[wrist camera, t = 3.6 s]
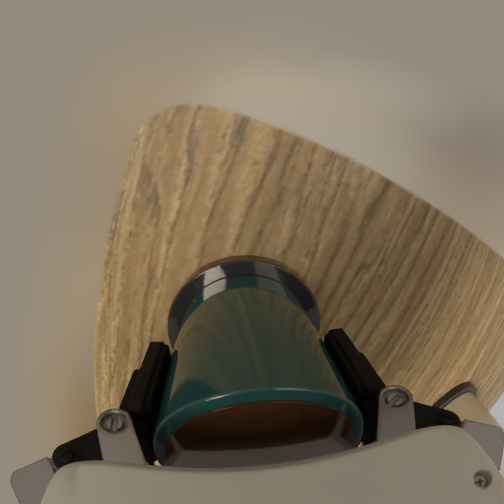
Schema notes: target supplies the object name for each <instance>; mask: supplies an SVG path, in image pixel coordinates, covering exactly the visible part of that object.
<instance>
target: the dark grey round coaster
mask: <svg viewBox="0 0 504 504" xmlns="http://www.w3.org/2000/svg"><path fill="white" fill-rule="evenodd" d="M467 392H471V393H472V394H473V395H474V396H476V392H477V390H476V387H475V386H474V385H473V384H472V383H469V382H468V383H463V384H461V385H459V386H457V387H455V388H454V389H452V390H451V391H450V392H448V393H447V394H446V395H445V396H443V397H442V398H441V399H440V400H439V401H438V402H437V403H436V404H435V405H434V406H433V407H437V408H441V409H443V408H444V407H445V406H447V405H448V404H449V403H450V402H451V401H453V400H454V399H455V398H457V397H458V396H460V395H462V394H464V393H467Z"/></svg>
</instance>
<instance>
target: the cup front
mask: <svg viewBox="0 0 504 504" xmlns="http://www.w3.org/2000/svg"><path fill="white" fill-rule="evenodd" d="M363 433H364V418H363V415H362V412H361V410H360V409H359V407H358V405H357V403H356V401H355V399H354V397H353V395H352V394H351V392H350V390H349V388H348V386H347V384H346V382H345V381H344V379H343V377H342V375H341V373H340V371H339V370H338V368H337V366H336V364H335V362H334V360H333V359H332V357H331V355H330V353H329V351H328V349H327V348H326V346H325V344H324V342H323V340H322V339H321V337H320V335H319V333H318V331H317V330H316V328H315V326H314V324H313V322H312V321H311V319H310V317H309V315H308V313H307V312H306V310H305V308H304V306H303V305H302V303H301V301H300V300H299V299H298V297H297V296H296V295H295V294H294V293H293V292H292V291H291V290H289V289H288V288H287V287H285V286H284V285H282V284H280V283H278V282H276V281H274V280H271V279H268V278H264V277H259V276H248V275H246V276H235V277H229V278H225V279H222V280H219V281H217V282H215V283H212V284H210V285H209V286H207V287H206V288H204V289H203V290H201V291H200V292H199V293H198V294H197V295H196V296H195V297H194V298H193V299H192V300H191V301H190V303H189V304H188V306H187V307H186V309H185V311H184V314H183V317H182V320H181V323H180V327H179V331H178V334H177V338H176V342H175V346H174V349H173V353H172V357H171V361H170V365H169V369H168V373H167V377H166V381H165V385H164V389H163V393H162V397H161V402H160V406H159V410H158V415H157V419H156V424H155V428H154V433H153V438H152V447H153V451H154V454H155V456H156V458H157V460H158V462H159V463H160V464H161V465H162V466H168V467H186V468H227V467H246V466H259V465H269V464H277V463H285V462H291V461H298V460H304V459H309V458H315V457H320V456H324V455H329V454H333V453H338V452H342V451H346V450H350V449H353V448H357V447H358V445H359V444H360V442H361V439H362V437H363Z"/></svg>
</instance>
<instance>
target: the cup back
mask: <svg viewBox="0 0 504 504" xmlns="http://www.w3.org/2000/svg"><path fill="white" fill-rule="evenodd" d="M443 409H445V410H449V411H452V412H454V413H456V414H457V415H458V416H459V418H460V421H463V420H464V419H467V420H471V421H475V422H480V423H484V424H489V425H494V426H497V427H500V428H501V429H502V430H503V432H504V428H503V427H502V426H501V425H500V424H499V423H498V422H497V420H496V419H495V418H494V417H493V416H492V415H491V414H490V412H489V411H488V410H487V409H486V408H485V407H484V406H483V405H482V404H481V403H480V401H479V400H478V399H477V398H476V397H475V396H474V395H473V394H472V393H471V392H467V393H464V394H462V395H460V396H458V397H457V398H455V399H454V400H453V401H451V402H450V403H449V404H448V405H447V406H445V407H444V408H443Z"/></svg>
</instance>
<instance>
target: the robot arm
mask: <svg viewBox="0 0 504 504" xmlns="http://www.w3.org/2000/svg"><path fill="white" fill-rule="evenodd" d="M324 344H325V346H326V348H327V349H328V351H329V353H330V355H331V357H332V359H333V360H334V362H335V364H336V366H337V368H338V370H339V371H340V373H341V375H342V377H343V379H344V381H345V382H346V384H347V386H348V388H349V390H350V392H351V394H352V395H353V397H354V399H355V401H356V403H357V405H358V407H359V409H360V410H361V412H362V415H363V418H364V433H363V437H362V439H361V447H357V448H353V449H350V450H346V451H342V452H338V453H333V454H329V455H324V456H320V457H315V458H309V459H304V460H298V461H291V462H285V463H277V464H269V465H259V466H246V467H227V468H186V467H168V466H156V465H155V461H156V460H157V458H156V456H155V454H154V451H153V447H152V438H153V433H154V428H155V424H156V419H157V415H158V410H159V406H160V402H161V397H162V393H163V389H164V385H165V381H166V377H167V373H168V369H169V365H170V361H171V354H170V350H169V346H168V345H165V344H164V342H150V345H149V347H148V350H147V352H146V355H145V357H144V360H143V362H142V365H141V368H140V370H138V369H136V370H134V372H133V374H132V376H131V379H130V382H129V384H128V387H127V389H126V392H125V394H124V397H123V400H122V402H121V405H120V408H119V409H110V410H107V411H105V412H103V413H101V414H100V416H99V417H98V419H97V421H96V426H97V429H95V430H93V431H91V432H89V433H87V434H84V435H82V436H80V437H78V438H76V439H73V440H71V441H69V442H67V443H64V444H62V445H60V446H59V447H57V448H56V449H55V450H54V452H53V455H52V458H50V459H49V458H48V457H45V458H43V459H41V460H39V461H37V462H35V463H32V464H30V465H28V466H25V467H23V468H21V469H18V470H16V471H15V472H13V474H12V476H11V480H10V481H11V485H12V488H13V490H14V492H15V495H16V497H17V499H18V502H19V504H504V478H503V477H502V475H501V474H500V472H499V470H500V465H501V459H502V453H503V447H504V432H503V430H502V429H501V428H500V427H497V426H494V425H489V424H484V423H480V422H475V421H471V420H467V419H464V420H463V421H460V418H459V416H458V415H457V414H456V413H454V412H452V411H449V410H445V409H441V408H437V407H433V406H428V405H424V404H421V403H417V402H413V396H412V394H411V392H410V391H409V390H408V389H406V388H405V387H402V386H398V385H391V386H387V387H386V386H385V384H384V383H383V381H382V380H381V378H380V377H379V376H378V374H377V373H376V371H375V370H374V368H373V367H372V366H371V364H370V363H369V361H368V360H367V358H366V357H365V356H364V354H363V353H359V352H358V350H357V349H356V347H355V346H354V345H353V343H352V342H351V340H350V339H349V337H348V336H347V335H346V333H345V332H344V330H343V329H342V328H340V329H333V330H329V332H328V333H327V334H325V338H324Z"/></svg>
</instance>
